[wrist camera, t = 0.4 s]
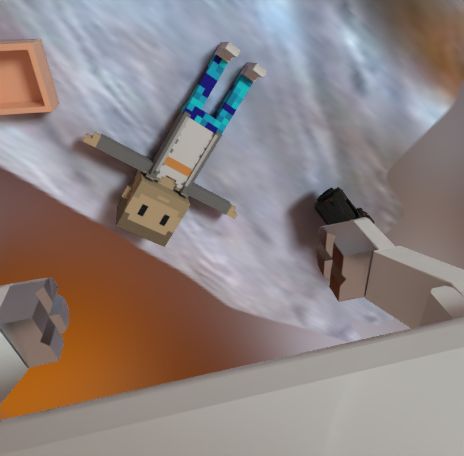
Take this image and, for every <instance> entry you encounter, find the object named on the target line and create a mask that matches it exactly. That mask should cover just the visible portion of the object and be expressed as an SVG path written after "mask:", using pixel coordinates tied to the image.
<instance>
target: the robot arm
mask: <svg viewBox="0 0 464 456" xmlns="http://www.w3.org/2000/svg"><path fill="white" fill-rule="evenodd" d="M318 239H319V240H320V242H321V244H320V245H319V246H318V248H317V261H318V266H319V268H320V271H321V273H322V275H323V276H324V277H325V278H327V279H329V280H330V285H329V287H330V288H331V290H332V292H333V293H334V295H335V297H336V298H337V300H338V302H340V301H345V300H351V299H356V298H362V297H365V298H366V299H367V300H369V301H370V302H372V303H373V304H375V305H376V306H378V307H379V308H381V309H383V310H384V311H386V312H387V313H389V314H390V315H392V316H393V317H395V318H397V319H398V320H400V321H401V322H403V323H404V324H406V325H407V326H409V327H410V328H412V329H407V330H403V331H399V332H394V333H389V334H385V335H380V336H376V337H372V338H367V339H362V340H358V341H354V342H349V343H345V344H340V345H336V346H331V347H327V348H322V349H318V350H313V351H309V352H304V353H300V354H295V355H291V356H286V357H282V358H277V359H273V360H268V361H264V362H259V363H255V364H250V365H246V366H241V367H237V368H232V369H228V370H223V371H219V372H214V373H210V374H205V375H201V376H196V377H192V378H188V379H183V380H178V381H174V382H170V383H165V384H161V385H156V386H152V387H147V388H143V389H139V390H134V391H130V392H125V393H120V394H116V395H111V396H107V397H102V398H98V399H93V400H89V401H85V402H80V403H75V404H71V405H67V406H62V407H57V408H53V409H49V410H45V411H40V412H35V413H31V414H26V415H22V416H17V417H13V418H9V419H4V420H0V456H464V270H462V269H460V268H457V267H454V266H452V265H449V264H446V263H444V262H441V261H439V260H436V259H433V258H431V257H428V256H425V255H423V254H420V253H417V252H415V251H412V250H409V249H407V248H404V247H402V246H396V247H395V246H394V245H393V244H392V243H391V242H390V241H389V240H388V238H387V237H386V236H385V235H384V234H383V233H382V232H381V231H380V230H379V229H378V228H377V227H376V226H375V225H374V224H373V223H372V221H371V220H370V219H369V218H366V217H363V218H359V219H354V220H350V221H347V222H342V223H336V224H331V225H326V226H321V227H319V230H318ZM57 288H58V286H57V285H56V283H55V281H54V280H53V279H52V278H44V279H37V280H31V281H25V282H19V283H14V284H8V285H3V286H0V404H1V403H2V402H3V400H4V399H5V398H6V397H7V395H8V394H9V393H10V392H11V390H12V389H13V388H14V387H15V385H16V384H17V383H18V382H19V380H20V379H21V378H22V377H23V376H24V374H25V373H26V372H27V371H28V368H30V367H34V366H38V365H42V364H47V363H51V362H55V361H59V359H60V355H61V351H62V347H63V343H64V340H63V338H62V337H61V335H62V333H63V332H64V331H65V330H66V329H67V327H68V323H69V310H68V307H67V303H66V302H65V299H64V298H63V297H61V296H59V295H58V294H56V292H57Z"/></svg>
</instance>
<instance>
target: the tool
mask: <svg viewBox="0 0 464 456" xmlns="http://www.w3.org/2000/svg"><path fill="white" fill-rule="evenodd" d="M317 201H318V202H317V203H316V204H315V205H316V206H315V209H316V211H317V212H318V213H319V215H320V216H321V217H322V219H323V220H324V222H325V223H326V224H327V225H331V224H336V223H342V222H347V221H350V220H354V219H359V218H363V217H366V218H369V219H370V220H371V221H372V223H373V224H374V221H373V220H372V218H371V217H370V216H369V215H367V214H368V213H366V212H364V211H362V210H363V209H361V208H359V209H358V208H357V209H356V208H355V207H354V205H353V204H352V203H351V202H350V200H349V199H348V198H347V196H346V195H345V194H344V192H343V190H341V189H340V188H339V187H338V188H336V189H335V190H334V189H333V188H330V189H328V190H327V191H325V192H324V193H323V194H322V195H320V196H319V197H318V199H317Z"/></svg>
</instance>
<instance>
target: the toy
mask: <svg viewBox="0 0 464 456" xmlns="http://www.w3.org/2000/svg"><path fill="white" fill-rule="evenodd" d="M239 53H240V50H239V49H238V48H236V47H235V46H234V45H232V44H231V43H230V42H221V44H220V46H219V47H218V49H217V51H216V52H215V54H214V56H213V57H212V59H211V61H210V63H209V64H208V66H207V68H206V70H205V71H204V73H203V75H202V77H201V79H200V80H199V82H198V84H197V86H196V87H195V89H194V91H193V93H192V94H191V96H190V98H189V100H187V101H186V103H185V104H184V106H183V108H182V110H181V111H180V113H179V115H178V117H177V119H176V120H175V122H174V124H173V126H172V127H171V129H170V131H169V133H168V135H167V136H166V138H165V140H164V142H163V143H162V145H161V147H160V149H159V150H158V152H157V154H156V156H155V158H154V159H153V161H152V160H150V159H148V158H146V157H144V156H142V155H141V154H139V153H137V152H135V151H133V150H131V149H129V148H128V147H126V146H124V145H122V144H120V143H118V142H116V141H114V140H113V139H111V138H109V137H107V136H105V135H103V134H101V135H100V134H98V133H96V132H95V133H94V135H93V136H92V135H90V134H88V133H86V135H85V137H84V139H83V142H85V143H87V144H89V145H91V146H93V147H95V148H97V149H99V150H101V151H103V152H105V153H106V154H108V155H110V156H112V157H114V158H116V159H118V160H120V161H122V162H124V163H126V164H128V165H130V166H132V167H134V168H136V169H138V171H137V172H136V174H135V176H134V178H133V179H132V181H131V183H130V185H129V186H128V185H127V186H126V188H125V190H124V191H123V193H122V199H121V201H120V203H119V205H118V206H117V217H116V227H119V228H121V229H124V230H126V231H128V232H131V233H133V234H135V235H138V236H140V237H143V238H145V239H147V240H150V241H152V242H154V243H157V244H159V245H162V246H164V247H165V245H166V244H167V242H168V240H169V239H170V237H171V236H172V234H173V232H174V231H175V229H176V227H177V226H178V224H179V223H180V221H181V219H182V218H183V216H184V215H185V213H186V211H187V210H188V208H189V206H190V205H191V204H190V202H189V200H188V197H189V196H191V197H193V198H195V199H197V200H198V201H200V202H202V203H204V204H206V205H208V206H210V207H212V208H214V209H216V210H218V211H220V212H222V213H224V214H226V215H228V216H230V217H232V218H234V219H235V218H236V216H237V213H236V212H235V209H236V207H235V206H234V205H232V204H230V202H229V201H227V200H225V199H223V198H221V197H219V196H217V195H216V194H214V193H212V192H210V191H208V190H206V189H204V188H202V187H201V186H199V185H197V184H195V183H193V182H194V180H195V179H196V177H197V175H198V174H199V172H200V170H201V169H202V167H203V165H204V164H205V162H206V161H207V159H208V157H209V156H210V154H211V152H212V151H213V149H214V147H215V146H216V144H217V143H218V141H219V139H220V138H221V136H222V132H223V131H224V129H225V128H226V126H227V124H228V123H229V121H230V119H231V118H232V116H233V114H234V113H235V111H236V109H237V108H238V106H239V105H240V103H241V101H242V100H243V98H244V96H245V95H246V93H247V91H248V90H249V88H250V86H251V85H252V83H253V82H255V80H256V79H258V77H262V78H263V77H264V75H265V74H266V72H267V71H266V70H264V69H263V68H262V67H260V66H259V65H258V64H257V63H249V62H247V63H246V65H245V66H244V68H243V69H242V71H241V72H240V74H239V76H238V77H237V79H236V81H235V82H234V84H233V86H232V88H231V89H230V91H229V93H228V94H227V96H226V98H225V99H224V101H223V103H222V104H221V106H220V108H219V109H218V111H217V113H216V114H215V116H214V117H212V116H211V115H209V114H208V113H206V112H205V111H203V110H201V108H202V106H203V105H204V103H205V101H206V100H207V98H208V96H209V94H210V93H211V91H212V89H213V88H214V86H215V84H216V82H217V81H218V79H219V77H220V75H221V74H222V72H223V70H224V69H225V67H226V65H227V63H229V61H230V60H232V58H233V57H237V56H238V54H239Z"/></svg>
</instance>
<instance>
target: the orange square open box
mask: <svg viewBox="0 0 464 456" xmlns="http://www.w3.org/2000/svg"><path fill="white" fill-rule="evenodd" d="M58 104H59V101H58V97H57V94H56V90H55V87H54V83H53V80H52V76H51V73H50V69H49V66H48V62H47V59H46V55H45V52H44V48H43V45H42V41H41V39H27V40H0V115H8V114H23V113H39V112H53V110H54V109H55V108H56V107H57V106H58Z"/></svg>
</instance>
